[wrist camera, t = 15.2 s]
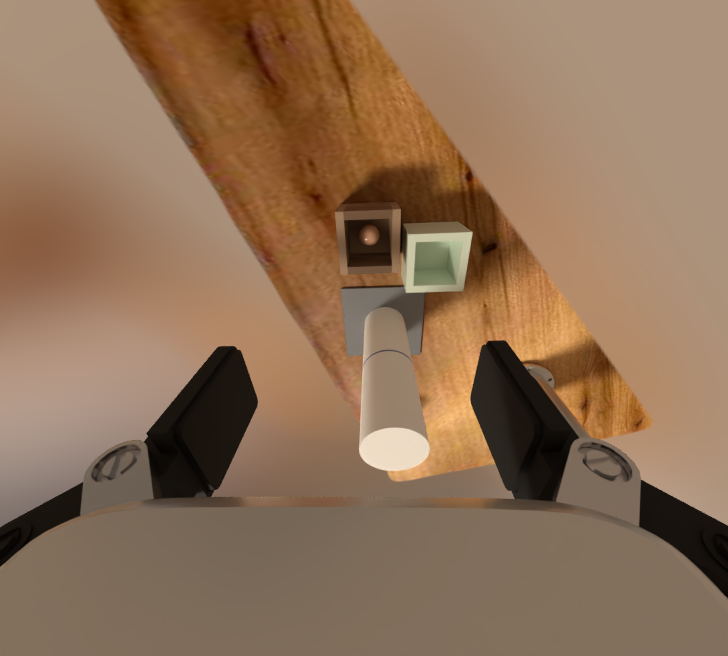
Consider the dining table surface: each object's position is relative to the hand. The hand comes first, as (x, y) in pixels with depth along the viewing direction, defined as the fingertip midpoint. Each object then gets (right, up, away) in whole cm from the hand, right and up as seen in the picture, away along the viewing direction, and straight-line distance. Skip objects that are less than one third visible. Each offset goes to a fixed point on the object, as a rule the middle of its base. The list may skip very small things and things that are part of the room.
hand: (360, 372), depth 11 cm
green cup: (+10, +14, +31) cm, 36 cm away
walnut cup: (+1, +16, +30) cm, 34 cm away
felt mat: (+4, +3, +39) cm, 39 cm away
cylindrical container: (+4, +3, +38) cm, 39 cm away
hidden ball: (+1, +15, +28) cm, 32 cm away
